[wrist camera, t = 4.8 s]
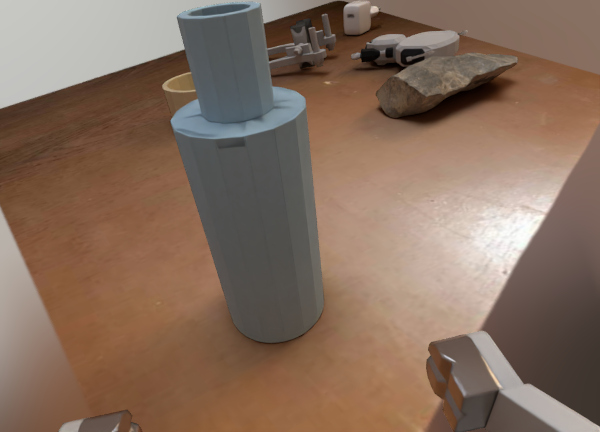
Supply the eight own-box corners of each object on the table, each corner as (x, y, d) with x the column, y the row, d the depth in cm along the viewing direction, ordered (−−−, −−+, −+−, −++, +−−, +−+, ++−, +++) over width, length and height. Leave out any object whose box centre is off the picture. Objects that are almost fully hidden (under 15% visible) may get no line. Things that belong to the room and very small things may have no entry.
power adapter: (364, 24, 91) (364, -5, 88) (384, 24, 89) (384, -5, 85) (341, 35, 84) (340, 5, 81) (361, 36, 82) (361, 5, 78)
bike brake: (342, 48, 72) (245, 68, 79) (334, 7, 68) (234, 32, 75) (326, 72, 61) (217, 92, 68) (316, 26, 58) (202, 52, 65)
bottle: (224, 346, 23) (115, 34, 13) (237, 273, 28) (164, 6, 18) (326, 339, 23) (295, 13, 13) (321, 267, 27) (295, -10, 17)
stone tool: (548, 32, 47) (434, 66, 39) (545, 81, 50) (436, 123, 41) (462, 41, 57) (356, 70, 49) (462, 82, 59) (361, 116, 51)
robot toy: (347, 76, 64) (436, 80, 55) (344, 47, 61) (437, 46, 52) (384, 56, 71) (469, 56, 62) (383, 29, 69) (471, 25, 60)
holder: (166, 133, 50) (153, 95, 47) (182, 108, 57) (172, 73, 54) (235, 127, 49) (227, 87, 46) (243, 101, 57) (236, 66, 54)
